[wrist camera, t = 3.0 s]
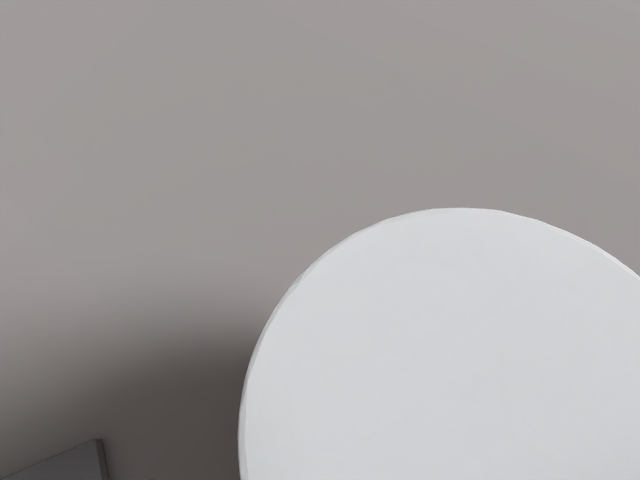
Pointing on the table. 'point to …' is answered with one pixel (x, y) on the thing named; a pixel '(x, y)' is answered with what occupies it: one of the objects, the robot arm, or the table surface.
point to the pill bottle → (449, 358)
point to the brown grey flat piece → (69, 465)
